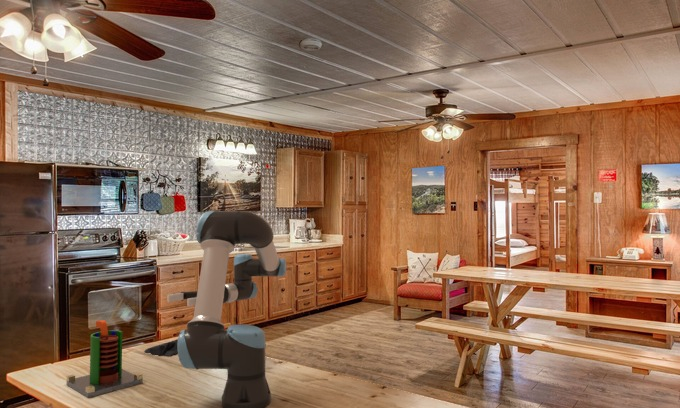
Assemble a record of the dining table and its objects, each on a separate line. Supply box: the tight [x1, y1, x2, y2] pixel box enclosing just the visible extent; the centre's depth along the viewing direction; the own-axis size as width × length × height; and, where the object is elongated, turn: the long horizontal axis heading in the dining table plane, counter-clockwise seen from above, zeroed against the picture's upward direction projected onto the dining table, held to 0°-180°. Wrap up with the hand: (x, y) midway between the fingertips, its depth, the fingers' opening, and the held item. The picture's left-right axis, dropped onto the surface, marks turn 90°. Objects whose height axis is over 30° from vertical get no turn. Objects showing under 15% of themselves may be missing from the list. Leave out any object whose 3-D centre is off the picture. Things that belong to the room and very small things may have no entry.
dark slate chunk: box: [144, 338, 178, 357], centre depth 210 cm, size 15×22×5 cm
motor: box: [89, 319, 123, 384], centre depth 167 cm, size 10×9×20 cm
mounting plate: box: [66, 368, 143, 399], centre depth 167 cm, size 18×18×3 cm
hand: (177, 300), depth 182 cm, fingers open, 13 cm apart
